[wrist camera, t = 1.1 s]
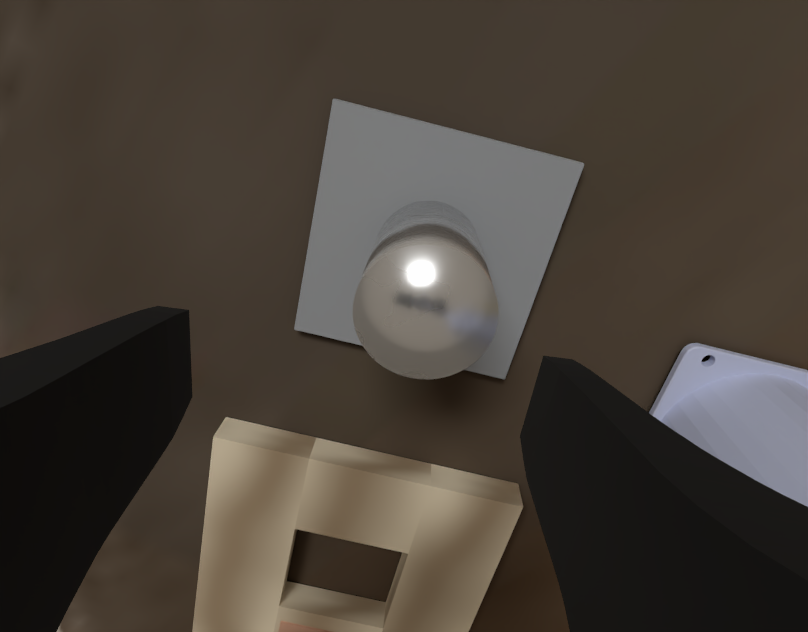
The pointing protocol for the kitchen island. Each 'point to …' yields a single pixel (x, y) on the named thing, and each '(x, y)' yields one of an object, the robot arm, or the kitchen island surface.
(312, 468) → the hole plate
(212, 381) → the kitchen island surface
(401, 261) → the steel peg
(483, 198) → the pad
